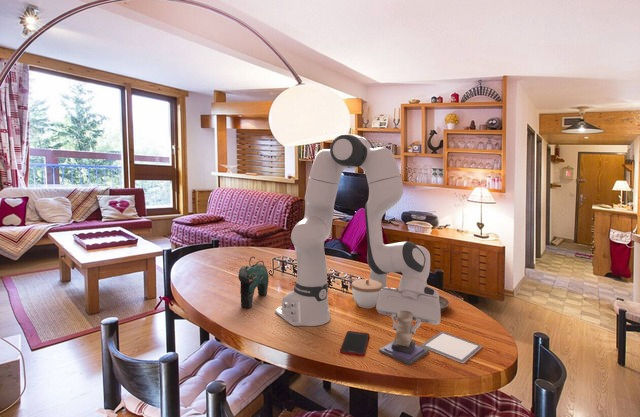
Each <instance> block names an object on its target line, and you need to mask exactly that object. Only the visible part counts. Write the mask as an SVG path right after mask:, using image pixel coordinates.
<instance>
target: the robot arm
mask: <svg viewBox="0 0 640 417" xmlns="http://www.w3.org/2000/svg"><path fill="white" fill-rule="evenodd" d="M346 168H349V169H352V168H361V170H363V171H364V173H365V177H366V180H367V185H368V200H367V201H366V203H365V205H364V217H365V218H364V219H365V220H364V222H365V230H366V231H365V232H366V242H367V252H366V253H367V256H366V259H367V260H366V261H367V265H368V266H369V268H370V269H372V270H373V271H374V272H375V273H376V274H378V275H381V274H390V273H401V274H402V275H401V278H400V280H399V284H398V288H394V287H388V286H386V287H385V288H383V289H381V290H380V293H379V299H378V302H377V304H376V305H375V307H376V308H375V309H376V311H377V313H378V314H379V315H384V316H388V317H389V316H390V317H391V319H392V322H393V323H392V324H393V325H392V330H393V331H396V330H397V315H398V312H399V311H409V312H411V313H412V314H413V321H415V324H414V326H413V325H412V326H411V329H410V333H411V334H412V335H416V333H417V330H418V329H419V328H420V327H421V326H422V323H425V324H430V325H434V326H435V325H436V326H438V325H439V324H440V323H441V318H442V317H441V315H442V314H441V313H442V312H441V311H440V303H439V296H440V295H439V291H438V290H436V289H435V288H432V287H430V286H428V283H427V280H428V278H429V275H430V271H431V254H430V251H429V250H428V249H427V248H426V247H425V246H422V245H419V244H415V243H414V242H412V241H406V240H405V241H400V242H398V241H397V242H394V243H388V244H385V243H384V238H383V229H382V220H383V217H384V215H385V214H386V213H387V212H388V211H389V210H390V209H391V208H393V207H394V206H396V205H397V204H398V203H399V202H400V200H401V198H402V197H403V193H404V184H403V181H402V180H403V179H402V175H401V173H400V169H399V165H398V164H397V160H396V158H395V155H394V153H393V152H392V151H391V150H390V149H389V148H387V147H384V146H383V147H382V146H380V147H374V146H373V144H372V142H371V141H370V140H369V139H367V138H365V137H363V136H362V135H359V134H351V133H343V134H340V135H338V136H336V137H335V138H334V139H333V140H332V142H331V144H330V148H324V149H321V150H319V151H318V152H317V153H316V155H315V157H314V160H313V163H312V166H311V168H310V171H309V176H308V180H307V185H306V189H305V194H304V202H305V203H304V205H305V206H304V207H305V208H304V216H303V219H302V220H300V221H298V222H297V223H296V224H295V226H294V227H293V228H292V231H291V234H290V235H291V236H290V239H291V243H292V244H293V246H294V250H295V251H294V252H295V256H296V264H297V267H296V268H297V269H296V273H297V274H296V281H292V286H294V287H293V289H292V290H291V291H290V292H288V293H287V294H285V295H284V296H283V297H282V300H281V305H280V306H278V307H277V308H276V309H275V310H274V312H275V313H276V315H278V316H279V317H280V318H282V319H283V320H285V321H286V322H287V323H289V324H290V325H291V326H294V327H298V326H299V327H300V326H303V327H304V326H306V327H317V326H323V325H325V324H326V323H328V322H330V321H331V315H330V313H331V312H330V308H329V298H328V292H329V288H328V287H329V284H328V279H327V278H328V276H327V274H328V262H327V259H326V254H325V241H326V240H327V239H328V238H329V237H330V235H331V233H332V225H333V219H334V209H335V202H336V200H337V194H338V189H339V186H340V181H341V177H342V173H343V172H344V170H346ZM384 289H385V290H384Z"/></svg>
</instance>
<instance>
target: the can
mask: <svg viewBox="0 0 640 417" xmlns="http://www.w3.org/2000/svg"><path fill="white" fill-rule="evenodd" d="M387 274H388V273H387ZM387 274H381V275H378V274H376V273H375V272H374V271H373V270H372V269H371V268H370V273H369V279H370V280H375V281H378V282H380V283H382V285H383V288H385V287H387ZM383 288H382V289H383ZM384 290H385V289H384Z"/></svg>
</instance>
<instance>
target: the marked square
mask: <svg viewBox="0 0 640 417" xmlns="http://www.w3.org/2000/svg"><path fill="white" fill-rule="evenodd" d="M420 347H423V348H425V349H428V350H429V351H430V352H432V353H433V352H434V353H436V354H438V355H440V356H444V357H445V358H448V359H450V360H452V361H455V362H457V363H461V364H465V363H466V362H467V361H468V360H470V358H471V357H472V356H474V355H475V354H476V353H478V352H479V351H480V350H481V349H482V348H483V345H482V344H481V345H480V344H477V343H476V342H472V341H469V340H468V339H464V338H461V337H458V336H456V335H453V334H449V333H448V332H444V331H440V332H438V333H437V334H436V335H434V336H432V337H430V338H429V339H428V340H427V341H425V342H423V343H422V344H421V345H420Z"/></svg>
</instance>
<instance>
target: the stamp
mask: <svg viewBox="0 0 640 417" xmlns="http://www.w3.org/2000/svg"><path fill="white" fill-rule="evenodd" d="M413 321H414V320H413V314H412V313H411V312H409V311H399V312H398V315H397V320H396V323H397V330H395V331H396V334H395V338H394V340H393V341H394V342H393V343H392V349H393V350H397V351H402V352H406V353H410V354H411V353H412V350H413V348H414V346H415V345H416V340H414V339H412V337H413V336H412V335H413V334H411V333H410V329H411V326H413Z"/></svg>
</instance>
